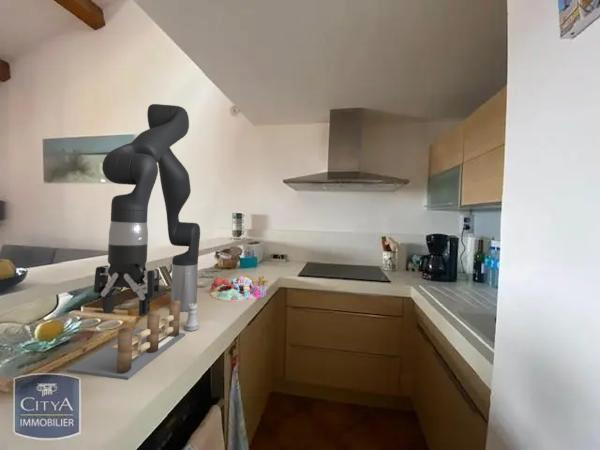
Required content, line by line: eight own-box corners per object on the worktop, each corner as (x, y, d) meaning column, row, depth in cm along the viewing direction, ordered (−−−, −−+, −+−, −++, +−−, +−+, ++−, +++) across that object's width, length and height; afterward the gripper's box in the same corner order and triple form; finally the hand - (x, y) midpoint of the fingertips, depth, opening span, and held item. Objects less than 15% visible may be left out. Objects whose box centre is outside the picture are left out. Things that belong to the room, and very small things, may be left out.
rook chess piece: (193, 325, 94) (194, 301, 94) (202, 328, 92) (203, 303, 92) (181, 329, 90) (182, 304, 90) (190, 332, 88) (191, 307, 88)
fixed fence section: (172, 332, 86) (173, 300, 86) (180, 333, 86) (182, 300, 85) (143, 352, 73) (145, 314, 73) (153, 353, 73) (155, 315, 73)
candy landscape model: (236, 285, 150) (237, 268, 150) (275, 292, 140) (276, 274, 140) (201, 296, 128) (202, 276, 127) (245, 306, 118) (246, 284, 117)
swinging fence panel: (142, 351, 73) (144, 316, 73) (152, 352, 73) (154, 317, 72) (113, 371, 63) (115, 331, 63) (125, 373, 63) (126, 332, 63)
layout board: (139, 330, 88) (139, 328, 88) (185, 335, 86) (185, 332, 86) (66, 371, 64) (67, 368, 64) (127, 379, 62) (127, 376, 62)
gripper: (168, 242, 67) (165, 311, 67) (112, 239, 68) (110, 306, 69) (147, 245, 59) (143, 322, 60) (85, 241, 61) (82, 316, 61)
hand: (125, 313), depth 64 cm, fingers open, 8 cm apart
